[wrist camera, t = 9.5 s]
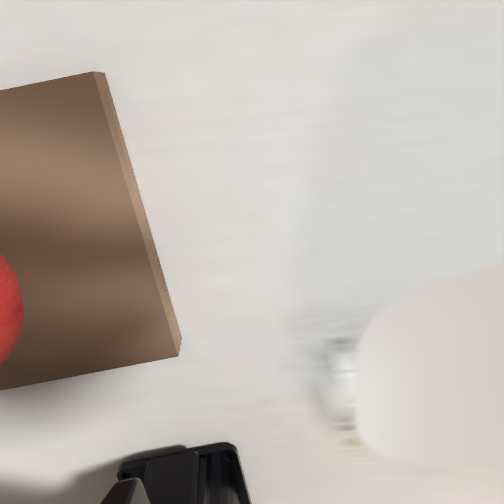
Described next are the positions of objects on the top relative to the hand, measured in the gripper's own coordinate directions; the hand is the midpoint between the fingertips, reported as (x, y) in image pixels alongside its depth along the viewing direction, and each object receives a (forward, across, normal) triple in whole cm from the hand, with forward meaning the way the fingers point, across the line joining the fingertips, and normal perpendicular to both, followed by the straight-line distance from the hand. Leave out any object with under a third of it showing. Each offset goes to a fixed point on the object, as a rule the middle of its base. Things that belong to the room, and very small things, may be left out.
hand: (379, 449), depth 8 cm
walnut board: (+12, +13, -2) cm, 18 cm away
